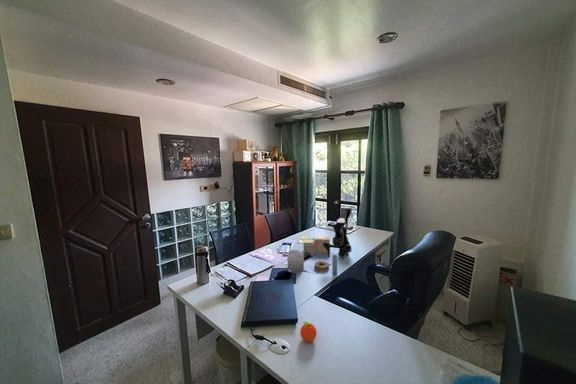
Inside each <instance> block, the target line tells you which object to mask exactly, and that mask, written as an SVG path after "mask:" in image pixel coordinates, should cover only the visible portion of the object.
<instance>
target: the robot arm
mask: <svg viewBox="0 0 576 384" xmlns="http://www.w3.org/2000/svg"><path fill="white" fill-rule="evenodd" d="M352 213H353V210H352V208H351V207H346V206H343V207H340V215H339V218H338V219H336V222H335V223H334V225H333V227H332V228H333V230H334V231H333V232H334V234H335V235H334V237H332V244H331V242H330V243H329V242H324V244H323V246H324V248H325V249H326V250H327V251H328V254H327V257H328V259H329V258H330V257H331V248H333V249H338V253H337V254H338V256H339V255H340V256H341V260H344V259H345V257H347V256H349V255H350V253H352V249H353V248H352V245H351V243H350V241H349V238H348V236H347V235H348V225H349V219H350V218H351V216H352Z"/></svg>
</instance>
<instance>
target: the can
mask: <svg viewBox="0 0 576 384" xmlns="http://www.w3.org/2000/svg"><path fill="white" fill-rule="evenodd" d="M286 254H287V270H288V269H289V270H291V271H293V272H295V273H294V274H300V273H302V272H304V269H305V267H304V265H305V264H304V263H305V260H304V258H305V257H304V256H305V253H304V251H301V250H298V249H293V250H292V249H290V250H289V251H288V252H286Z"/></svg>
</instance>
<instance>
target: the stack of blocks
mask: <svg viewBox="0 0 576 384" xmlns="http://www.w3.org/2000/svg"><path fill="white" fill-rule="evenodd" d="M330 240H331V239H330V236H314V237H313V239H312V240H311V239H309V240H308V239H305V240H303V243H302V244H303V253H304V252H311V253H310V254H322V255H323V254H327V255H328V251H327V250H326V249H325V248H324V246H323V244H324V242H329V243H330V244H331V242H330Z"/></svg>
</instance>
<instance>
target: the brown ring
mask: <svg viewBox="0 0 576 384" xmlns="http://www.w3.org/2000/svg"><path fill="white" fill-rule="evenodd" d="M329 267H330V264H329V262H327V261H325V260H323V261H322V260H318V261H316V262H314V270H315V271H317V272H323V273H325V272H327V271H329V270H330V269H329Z"/></svg>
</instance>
